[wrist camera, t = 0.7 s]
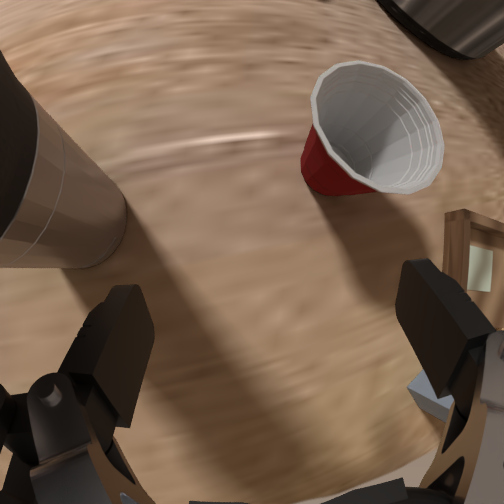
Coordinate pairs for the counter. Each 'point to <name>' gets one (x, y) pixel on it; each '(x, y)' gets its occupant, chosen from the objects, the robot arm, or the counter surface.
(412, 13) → the pressure cooker
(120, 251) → the counter surface
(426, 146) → the plastic cup
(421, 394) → the block
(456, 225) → the shallow wooden tray
